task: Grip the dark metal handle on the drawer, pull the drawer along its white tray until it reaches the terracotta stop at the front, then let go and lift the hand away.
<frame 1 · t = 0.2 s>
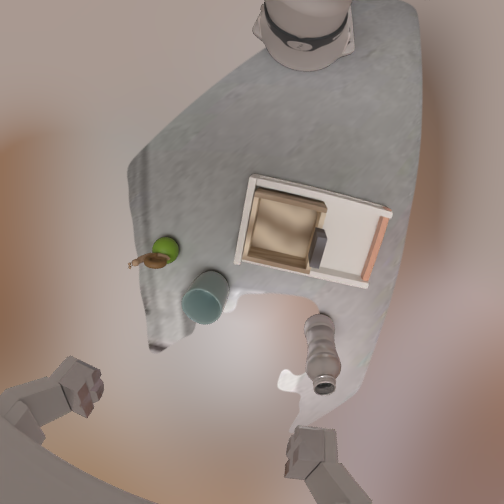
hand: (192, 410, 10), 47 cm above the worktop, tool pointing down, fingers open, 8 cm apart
snail figurine: (168, 245, 60), on the worktop
plastic bottle: (318, 322, 62), on the worktop
cup: (214, 282, 62), on the worktop
drawer: (284, 234, 49), point 7 cm above the worktop, slide at 0.0 cm
white tray: (312, 229, 55), on the worktop
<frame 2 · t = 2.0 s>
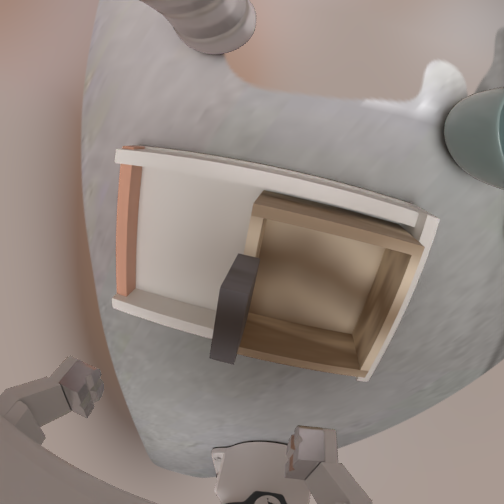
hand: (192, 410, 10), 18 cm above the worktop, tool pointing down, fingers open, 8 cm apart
plastic bottle: (223, 30, 20), on the worktop
cup: (464, 137, 20), on the worktop
drawer: (317, 302, 20), point 7 cm above the worktop, slide at 0.0 cm
white tray: (257, 253, 27), on the worktop
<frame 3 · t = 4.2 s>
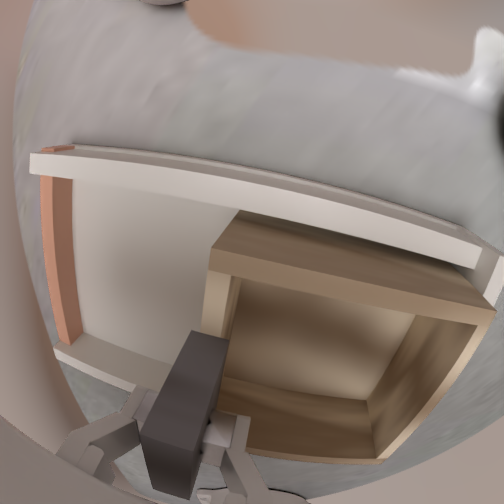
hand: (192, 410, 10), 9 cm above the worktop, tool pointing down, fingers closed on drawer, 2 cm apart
drawer: (325, 394, 12), point 7 cm above the worktop, slide at 0.0 cm, touching gripper
white tray: (236, 297, 18), on the worktop
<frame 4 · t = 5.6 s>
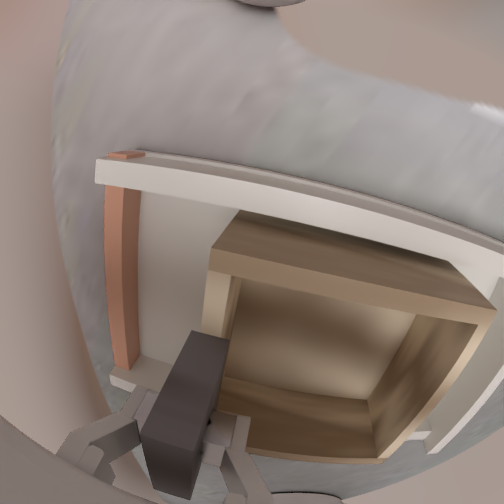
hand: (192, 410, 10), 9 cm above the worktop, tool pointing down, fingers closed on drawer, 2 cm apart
drawer: (325, 393, 12), point 7 cm above the worktop, slide at 5.4 cm, touching gripper
white tray: (320, 315, 18), on the worktop
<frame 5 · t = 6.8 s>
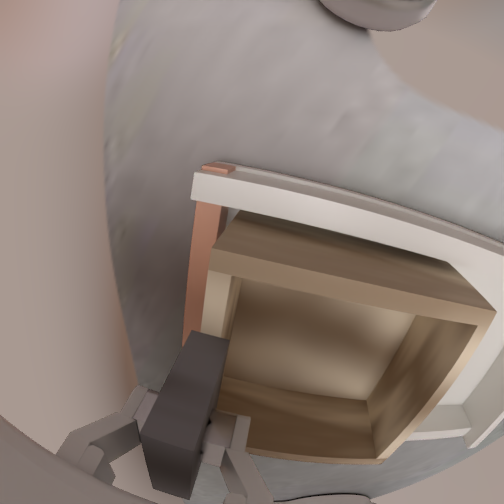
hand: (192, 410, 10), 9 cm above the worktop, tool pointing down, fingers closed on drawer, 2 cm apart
drawer: (325, 394, 12), point 7 cm above the worktop, slide at 10.6 cm, touching gripper
white tray: (390, 328, 18), on the worktop
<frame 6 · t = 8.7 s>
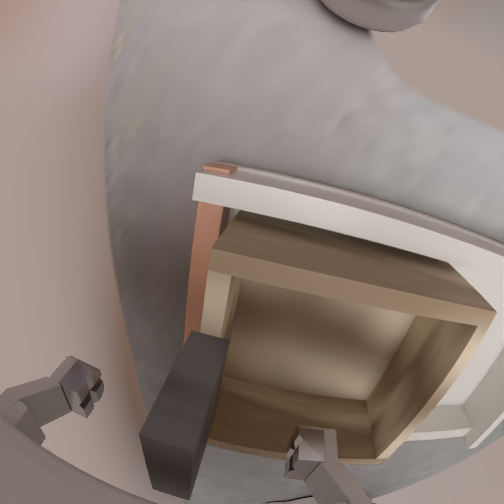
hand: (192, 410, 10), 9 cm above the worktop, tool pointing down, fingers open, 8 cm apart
drawer: (325, 394, 12), point 7 cm above the worktop, slide at 10.7 cm
white tray: (390, 329, 18), on the worktop
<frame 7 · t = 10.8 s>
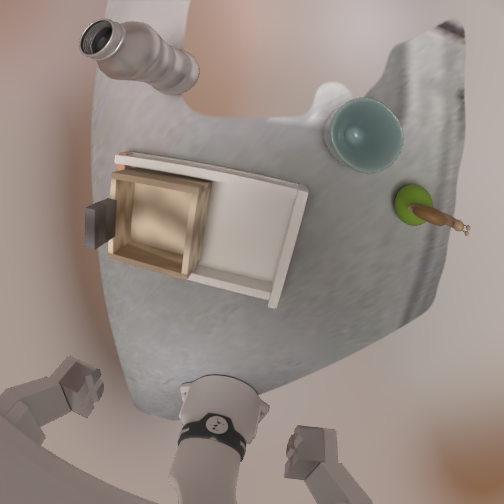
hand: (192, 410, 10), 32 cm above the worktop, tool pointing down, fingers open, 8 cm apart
snail figurine: (409, 201, 37), on the worktop
plastic bottle: (181, 75, 34), on the worktop
cup: (348, 136, 35), on the worktop
drawer: (148, 224, 35), point 7 cm above the worktop, slide at 10.7 cm
white tray: (202, 219, 41), on the worktop
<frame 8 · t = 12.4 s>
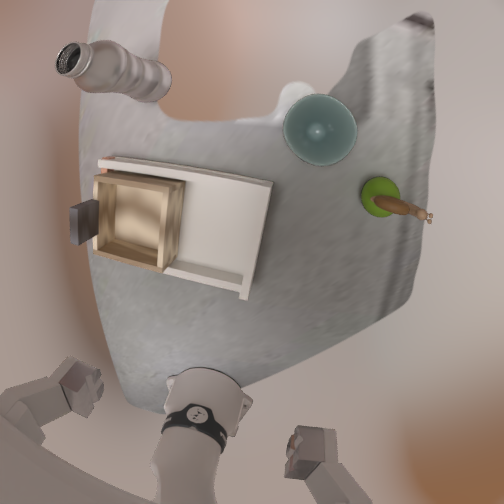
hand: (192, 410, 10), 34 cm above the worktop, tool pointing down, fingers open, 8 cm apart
snail figurine: (378, 194, 39), on the worktop
plastic bottle: (156, 84, 37), on the worktop
cup: (313, 133, 37), on the worktop
drawer: (126, 222, 38), point 7 cm above the worktop, slide at 10.7 cm
white tray: (178, 217, 44), on the worktop
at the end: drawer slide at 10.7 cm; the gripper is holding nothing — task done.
